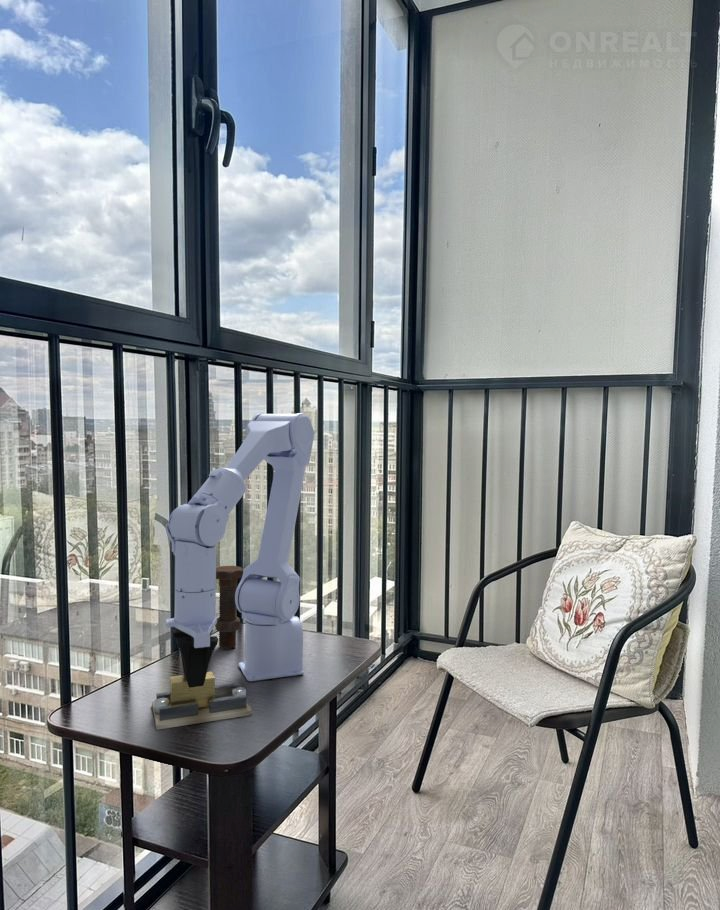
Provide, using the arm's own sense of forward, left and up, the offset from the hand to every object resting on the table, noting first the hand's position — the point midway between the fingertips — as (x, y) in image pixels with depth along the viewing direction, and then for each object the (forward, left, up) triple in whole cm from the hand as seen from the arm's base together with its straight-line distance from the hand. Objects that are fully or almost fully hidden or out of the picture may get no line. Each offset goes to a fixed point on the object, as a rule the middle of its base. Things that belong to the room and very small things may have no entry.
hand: (194, 681), depth 89 cm
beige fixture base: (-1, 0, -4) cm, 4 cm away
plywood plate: (-1, 0, -4) cm, 4 cm away
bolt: (-10, -26, -5) cm, 28 cm away
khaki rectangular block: (0, 0, -3) cm, 3 cm away
